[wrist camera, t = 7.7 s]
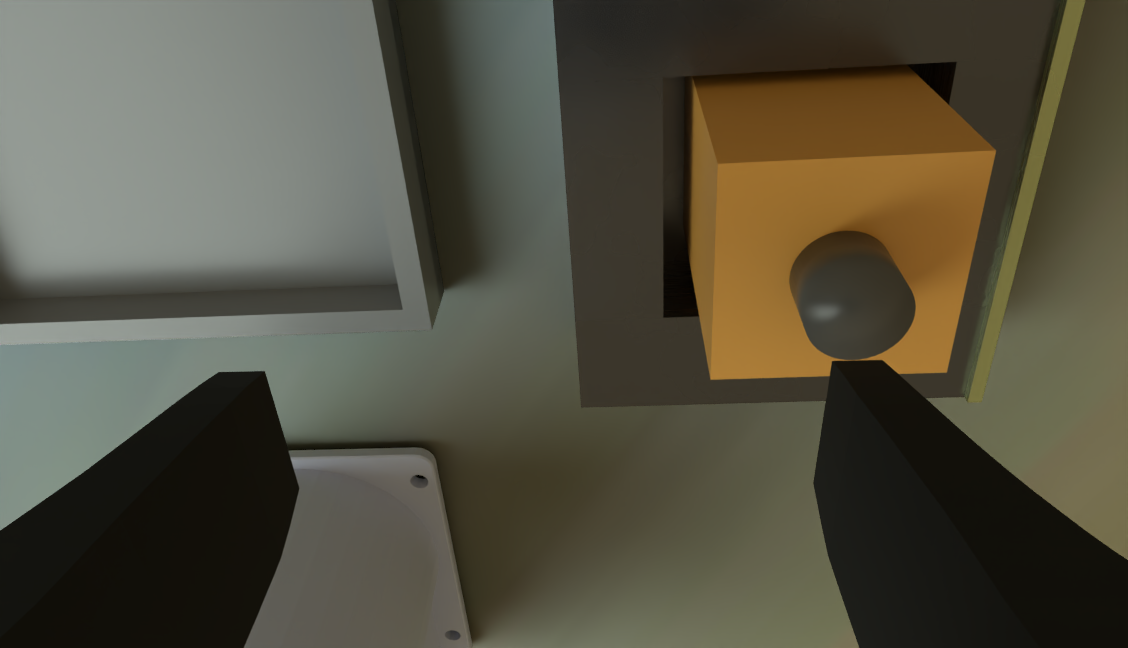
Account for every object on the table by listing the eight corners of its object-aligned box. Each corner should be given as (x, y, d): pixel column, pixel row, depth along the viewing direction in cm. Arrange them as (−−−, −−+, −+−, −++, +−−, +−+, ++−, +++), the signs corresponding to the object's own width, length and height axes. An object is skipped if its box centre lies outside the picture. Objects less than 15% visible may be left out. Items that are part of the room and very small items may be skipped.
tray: (443, 291, 22) (432, 330, 20) (-3, 307, 22) (-47, 346, 21) (346, -288, 15) (318, -294, 13) (-280, -234, 16) (-372, -235, 14)
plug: (857, 217, 19) (972, 417, 13) (682, 225, 20) (718, 424, 14) (882, 40, 17) (1031, 184, 11) (684, 51, 18) (728, 197, 11)
